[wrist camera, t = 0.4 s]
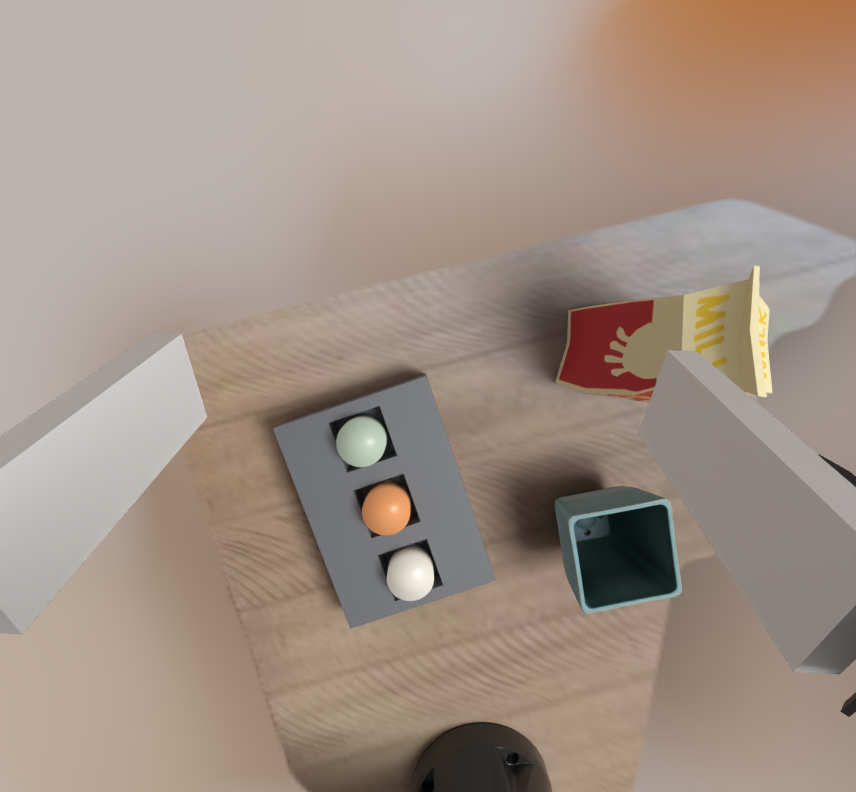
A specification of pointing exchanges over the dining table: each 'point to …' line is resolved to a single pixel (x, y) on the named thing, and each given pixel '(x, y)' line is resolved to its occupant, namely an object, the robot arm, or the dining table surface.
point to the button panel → (348, 485)
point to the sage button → (362, 440)
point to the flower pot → (618, 547)
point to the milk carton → (668, 340)
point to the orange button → (386, 507)
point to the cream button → (410, 572)
